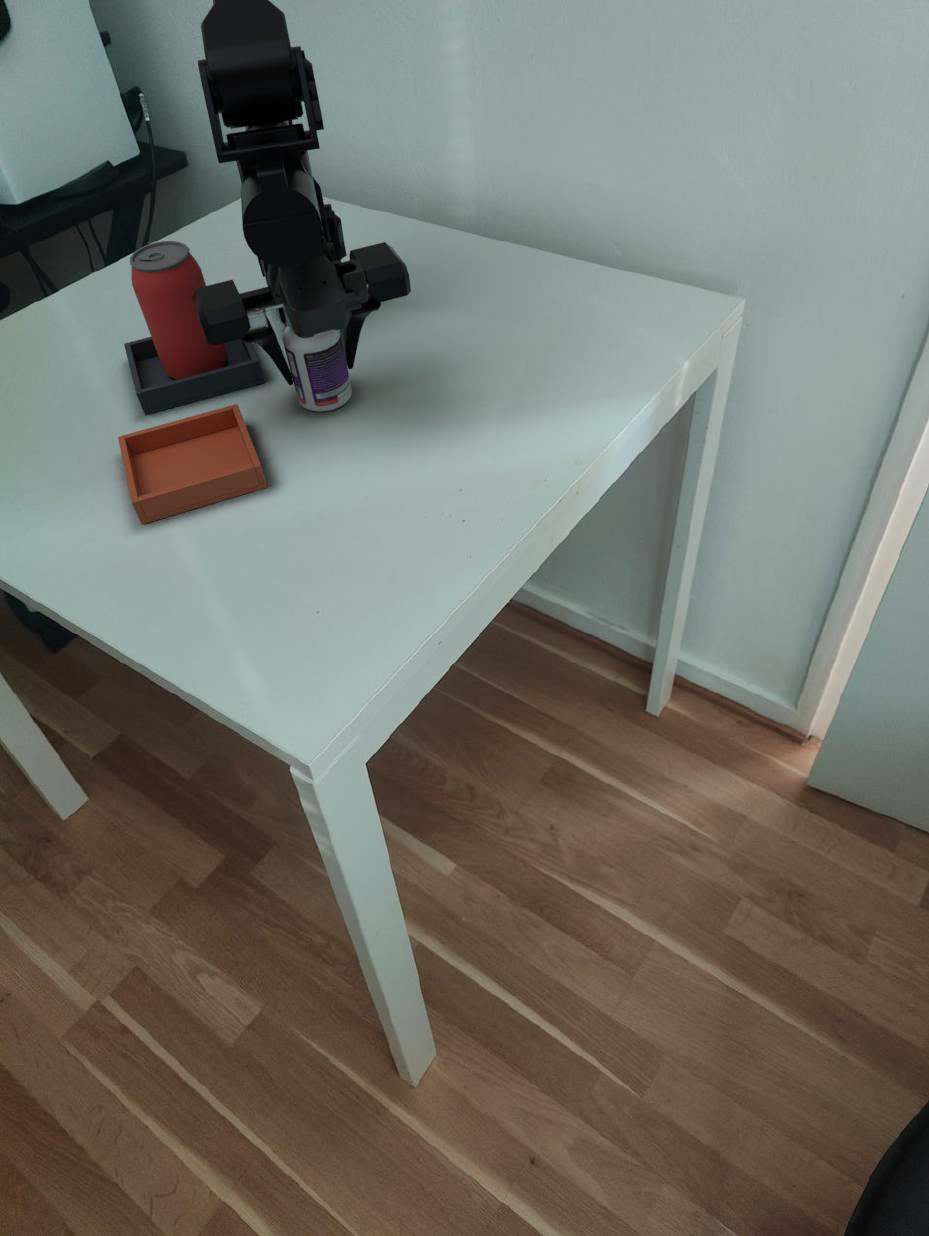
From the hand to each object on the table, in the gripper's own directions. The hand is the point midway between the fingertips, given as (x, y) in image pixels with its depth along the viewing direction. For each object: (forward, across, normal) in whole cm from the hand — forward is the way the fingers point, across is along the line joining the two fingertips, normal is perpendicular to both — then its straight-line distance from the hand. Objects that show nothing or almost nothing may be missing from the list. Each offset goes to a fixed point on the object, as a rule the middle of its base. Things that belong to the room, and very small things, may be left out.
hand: (320, 374), depth 83 cm
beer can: (+2, -11, +11) cm, 15 cm away
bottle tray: (+2, -14, -6) cm, 15 cm away
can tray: (+2, -11, +10) cm, 15 cm away
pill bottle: (+3, 0, 0) cm, 3 cm away
